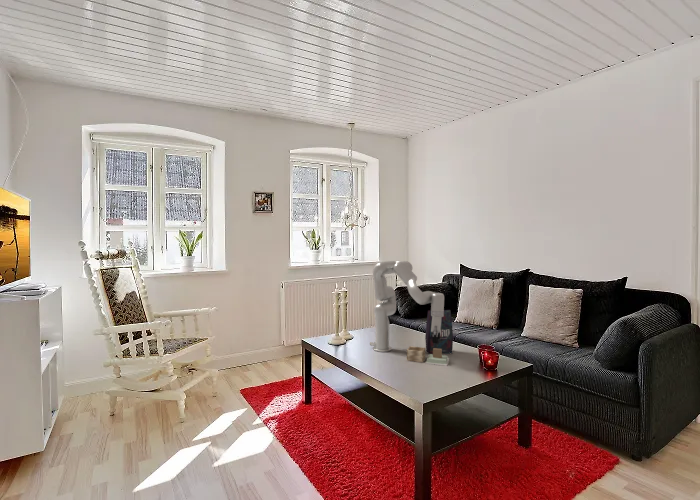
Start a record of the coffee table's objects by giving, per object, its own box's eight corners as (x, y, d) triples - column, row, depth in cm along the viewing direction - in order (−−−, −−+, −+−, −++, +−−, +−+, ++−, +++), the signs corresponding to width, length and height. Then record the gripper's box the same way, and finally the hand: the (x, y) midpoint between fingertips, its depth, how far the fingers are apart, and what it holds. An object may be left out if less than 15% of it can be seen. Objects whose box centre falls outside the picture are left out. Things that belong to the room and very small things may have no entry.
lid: (426, 362, 238) (426, 350, 238) (429, 357, 248) (429, 346, 247) (445, 364, 234) (445, 352, 234) (447, 359, 244) (447, 347, 244)
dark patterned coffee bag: (453, 353, 257) (453, 311, 256) (429, 354, 255) (429, 311, 254) (448, 350, 265) (448, 308, 264) (425, 351, 263) (425, 309, 262)
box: (406, 360, 243) (406, 350, 243) (409, 356, 251) (409, 346, 251) (423, 362, 239) (423, 351, 239) (425, 357, 248) (425, 347, 248)
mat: (424, 363, 237) (424, 362, 237) (428, 357, 249) (428, 356, 249) (446, 365, 233) (447, 365, 233) (449, 359, 245) (449, 358, 245)
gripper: (433, 310, 249) (432, 336, 250) (428, 315, 233) (427, 343, 234) (445, 311, 247) (444, 338, 248) (441, 316, 231) (440, 345, 232)
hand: (436, 340), depth 241 cm, fingers open, 9 cm apart
